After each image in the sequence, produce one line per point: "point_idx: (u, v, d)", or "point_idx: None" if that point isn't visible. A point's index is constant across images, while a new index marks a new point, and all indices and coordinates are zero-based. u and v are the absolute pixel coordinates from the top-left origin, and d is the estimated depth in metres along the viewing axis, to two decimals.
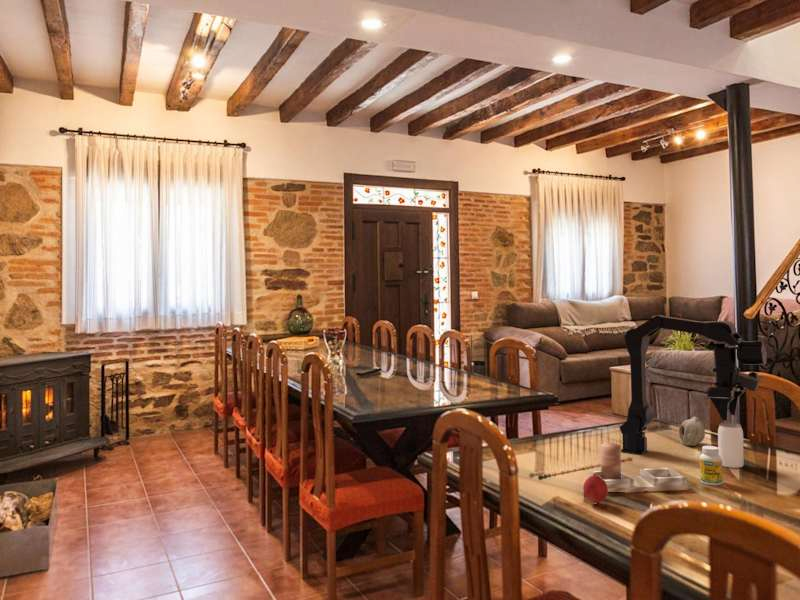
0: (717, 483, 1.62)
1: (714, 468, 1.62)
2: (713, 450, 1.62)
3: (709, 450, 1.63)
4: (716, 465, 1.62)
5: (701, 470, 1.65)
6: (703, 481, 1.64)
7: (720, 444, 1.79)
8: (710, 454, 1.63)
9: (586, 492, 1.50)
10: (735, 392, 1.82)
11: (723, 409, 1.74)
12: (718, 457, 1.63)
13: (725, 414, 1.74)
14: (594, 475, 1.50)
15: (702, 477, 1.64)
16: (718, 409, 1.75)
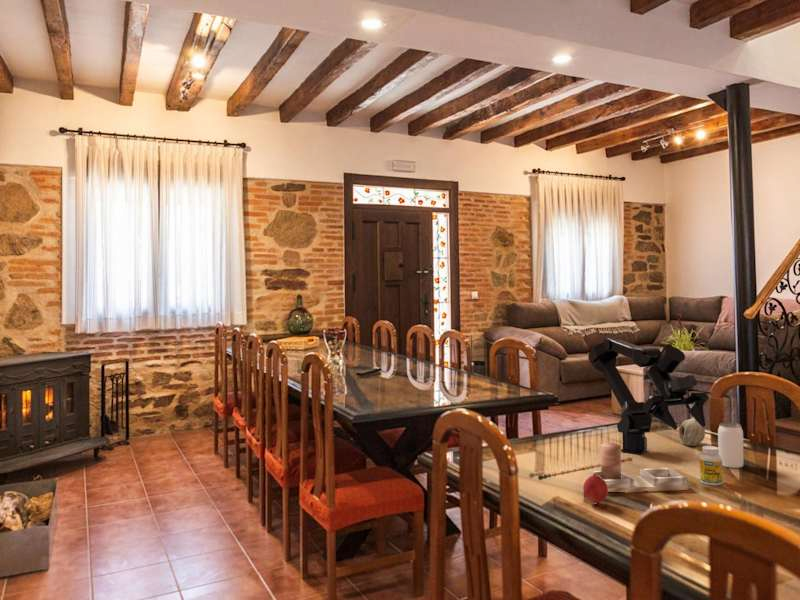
0: (717, 483, 1.62)
1: (714, 468, 1.62)
2: (713, 450, 1.62)
3: (709, 450, 1.63)
4: (716, 465, 1.62)
5: (701, 470, 1.65)
6: (703, 481, 1.64)
7: (720, 444, 1.79)
8: (710, 454, 1.63)
9: (586, 492, 1.50)
10: (695, 404, 1.77)
11: (667, 418, 1.73)
12: (718, 457, 1.63)
13: (671, 422, 1.71)
14: (594, 475, 1.50)
15: (702, 477, 1.64)
16: (665, 421, 1.73)
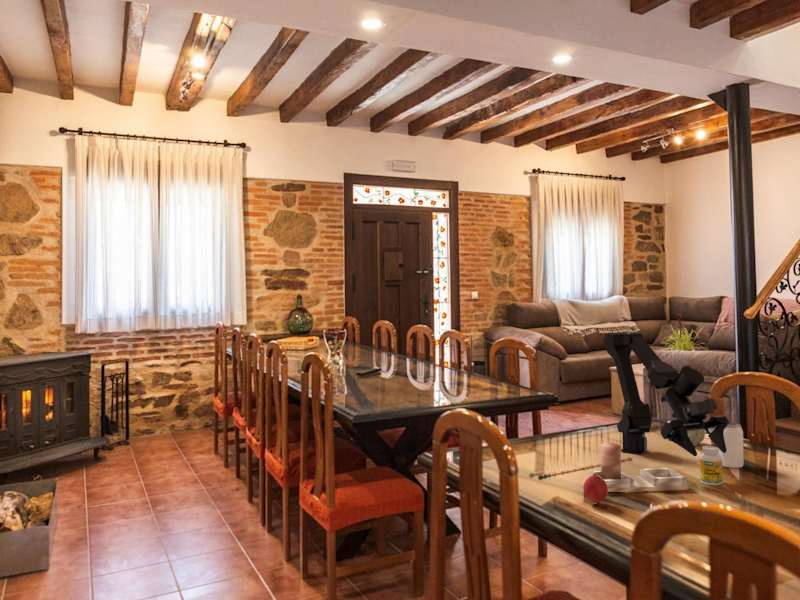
0: (717, 483, 1.62)
1: (714, 468, 1.62)
2: (713, 450, 1.62)
3: (709, 450, 1.63)
4: (716, 465, 1.62)
5: (701, 470, 1.65)
6: (703, 481, 1.64)
7: None
8: (710, 454, 1.63)
9: (586, 492, 1.50)
10: (715, 429, 1.69)
11: (686, 444, 1.65)
12: (718, 457, 1.63)
13: (691, 448, 1.64)
14: (594, 475, 1.50)
15: (702, 477, 1.64)
16: (684, 447, 1.66)
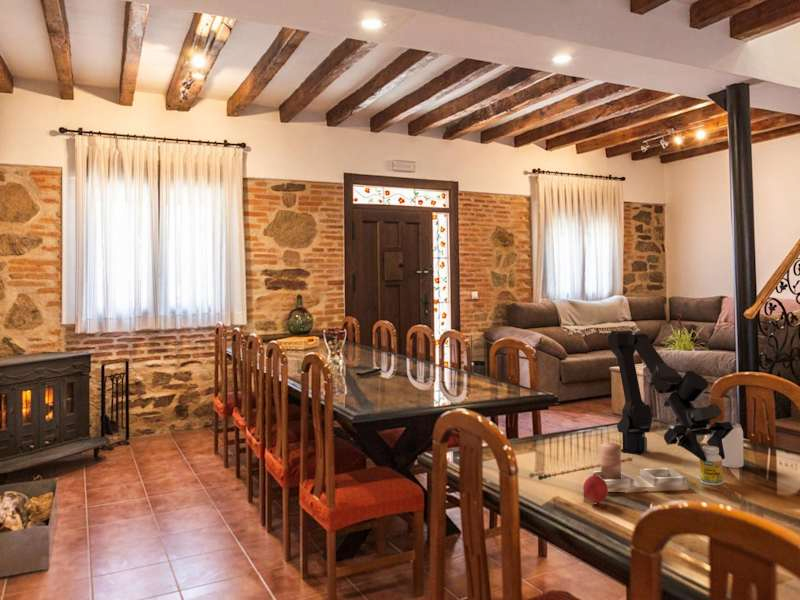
0: (717, 483, 1.62)
1: (714, 467, 1.62)
2: (713, 450, 1.62)
3: (709, 450, 1.63)
4: (716, 465, 1.62)
5: (701, 469, 1.65)
6: (703, 481, 1.64)
7: None
8: (710, 454, 1.63)
9: (586, 492, 1.50)
10: (713, 435, 1.68)
11: (695, 449, 1.64)
12: (718, 457, 1.63)
13: (700, 454, 1.63)
14: (594, 475, 1.50)
15: (702, 477, 1.64)
16: (693, 452, 1.65)
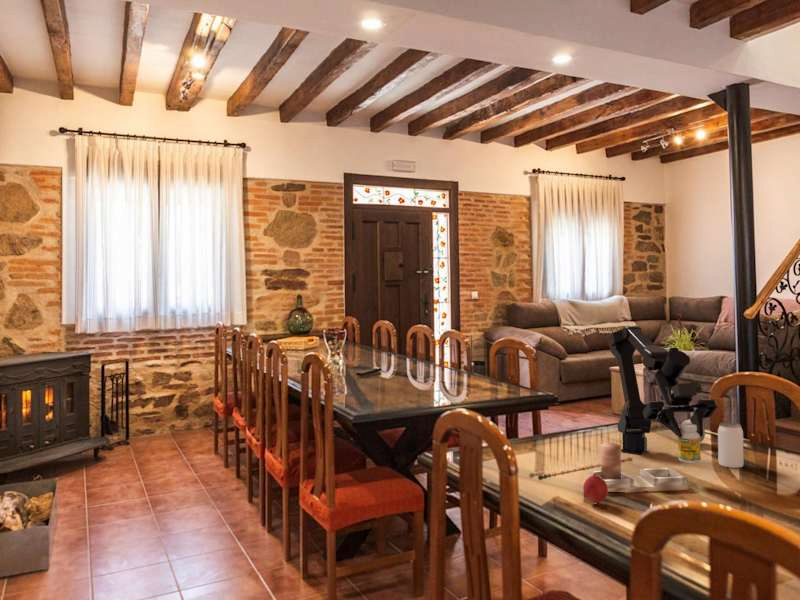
0: (693, 460, 1.61)
1: (690, 445, 1.61)
2: (689, 427, 1.62)
3: (685, 427, 1.62)
4: (692, 443, 1.61)
5: (678, 447, 1.64)
6: (680, 458, 1.63)
7: (720, 444, 1.79)
8: (686, 431, 1.62)
9: (586, 492, 1.50)
10: (695, 412, 1.66)
11: (672, 425, 1.64)
12: (695, 435, 1.61)
13: (676, 430, 1.63)
14: (594, 475, 1.50)
15: (679, 454, 1.64)
16: (670, 428, 1.65)
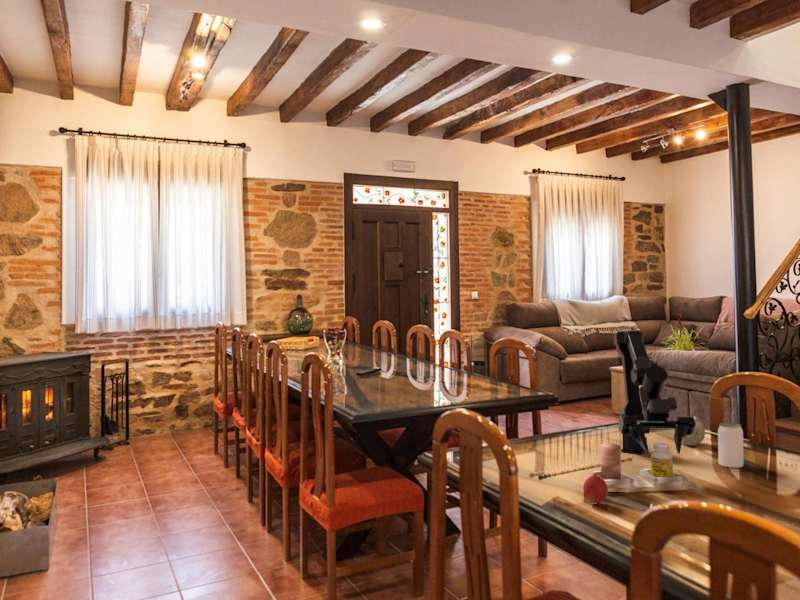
0: None
1: (660, 465, 1.62)
2: (660, 447, 1.62)
3: (656, 447, 1.63)
4: (662, 463, 1.62)
5: (651, 466, 1.65)
6: None
7: (720, 444, 1.79)
8: (657, 451, 1.63)
9: (586, 492, 1.50)
10: (676, 429, 1.66)
11: (640, 441, 1.65)
12: (666, 455, 1.62)
13: (643, 445, 1.64)
14: (594, 475, 1.50)
15: (651, 473, 1.65)
16: (640, 444, 1.66)
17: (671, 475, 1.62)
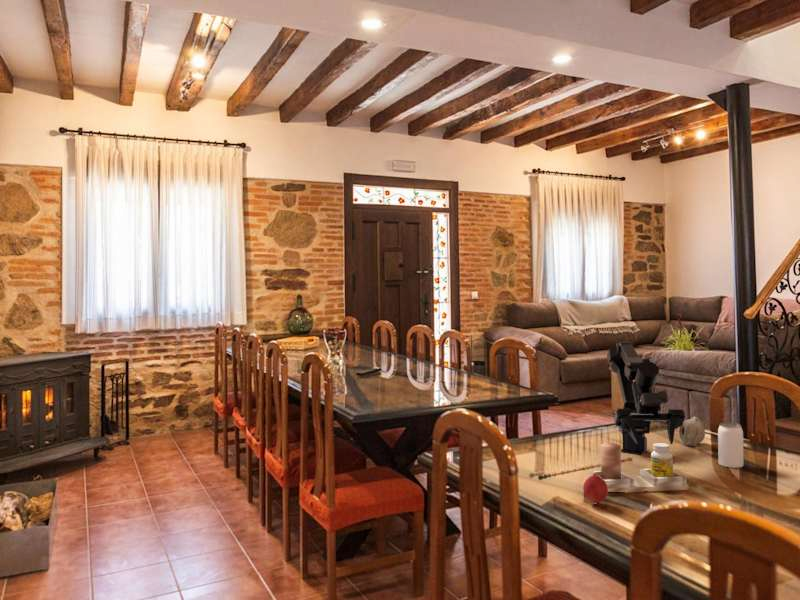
0: None
1: (660, 465, 1.62)
2: (660, 447, 1.62)
3: (656, 447, 1.63)
4: (662, 463, 1.62)
5: (651, 466, 1.65)
6: None
7: (720, 444, 1.79)
8: (657, 451, 1.63)
9: (586, 492, 1.50)
10: (669, 421, 1.75)
11: (631, 432, 1.75)
12: (666, 455, 1.62)
13: (633, 436, 1.74)
14: (594, 475, 1.50)
15: (651, 473, 1.65)
16: (630, 435, 1.76)
17: (671, 475, 1.62)
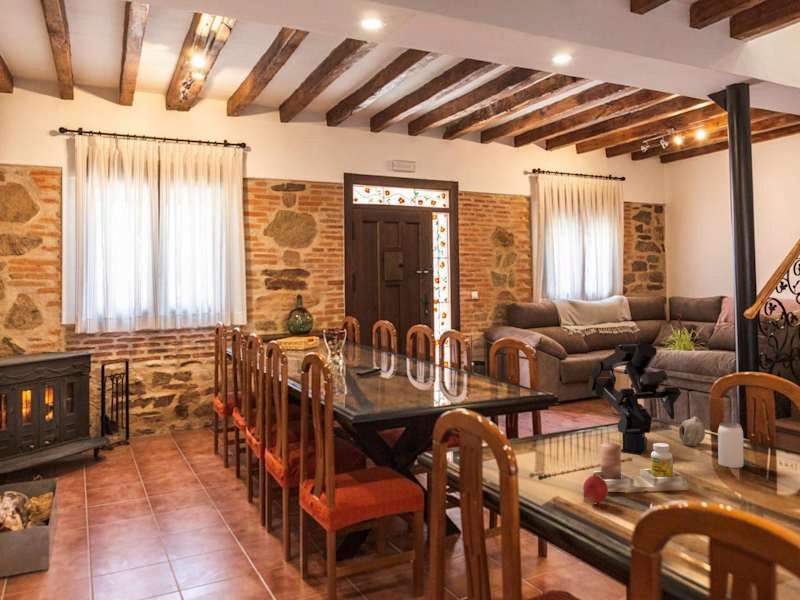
0: None
1: (660, 465, 1.62)
2: (660, 447, 1.62)
3: (656, 447, 1.63)
4: (662, 463, 1.62)
5: (651, 466, 1.65)
6: None
7: (720, 444, 1.79)
8: (657, 451, 1.63)
9: (586, 492, 1.50)
10: (667, 398, 1.86)
11: (636, 410, 1.83)
12: (666, 455, 1.62)
13: (639, 414, 1.82)
14: (594, 475, 1.50)
15: (651, 473, 1.65)
16: (634, 413, 1.84)
17: (671, 475, 1.62)
